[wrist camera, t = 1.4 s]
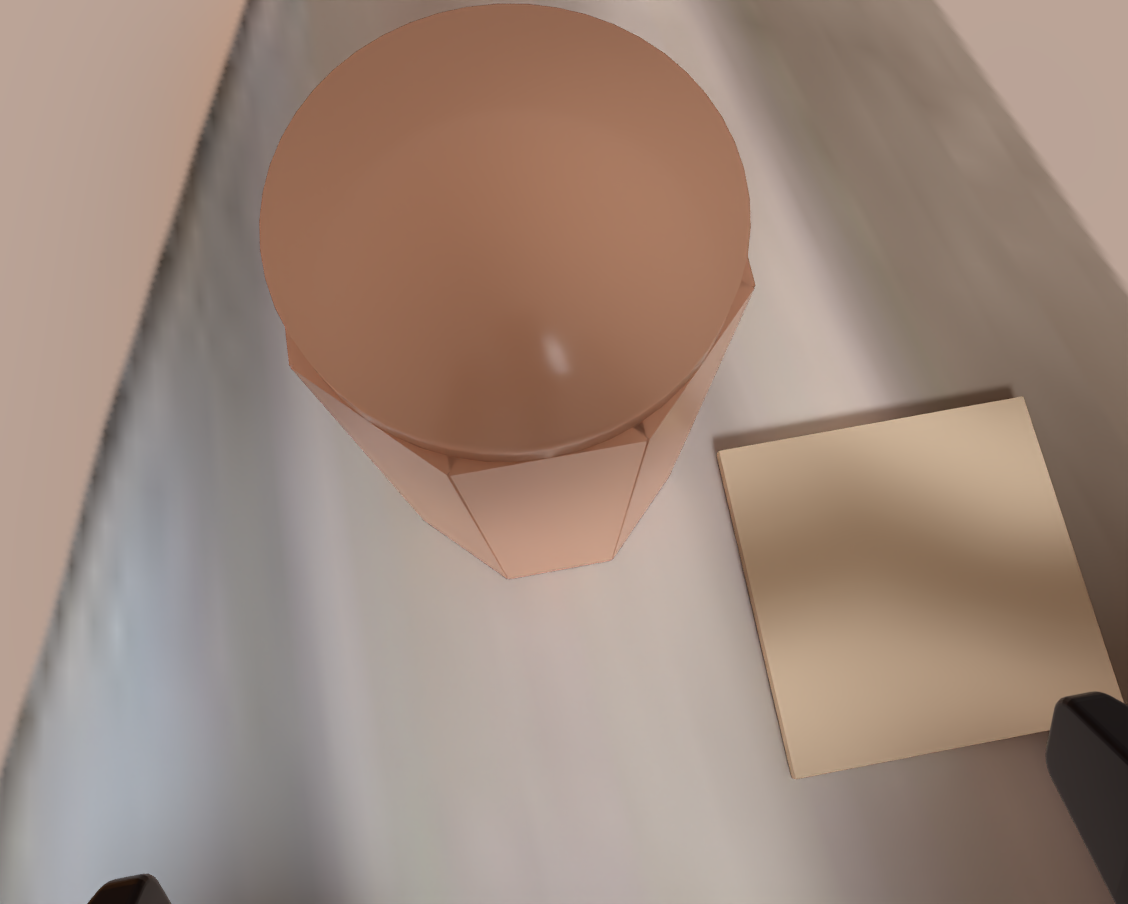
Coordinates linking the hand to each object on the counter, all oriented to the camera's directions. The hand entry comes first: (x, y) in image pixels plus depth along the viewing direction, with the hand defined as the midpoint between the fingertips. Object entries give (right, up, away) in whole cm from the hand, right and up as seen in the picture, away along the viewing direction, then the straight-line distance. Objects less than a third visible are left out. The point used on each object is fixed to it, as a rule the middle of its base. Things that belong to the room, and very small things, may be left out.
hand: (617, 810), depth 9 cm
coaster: (+8, 0, +13) cm, 16 cm away
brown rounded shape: (-1, +4, +14) cm, 15 cm away
